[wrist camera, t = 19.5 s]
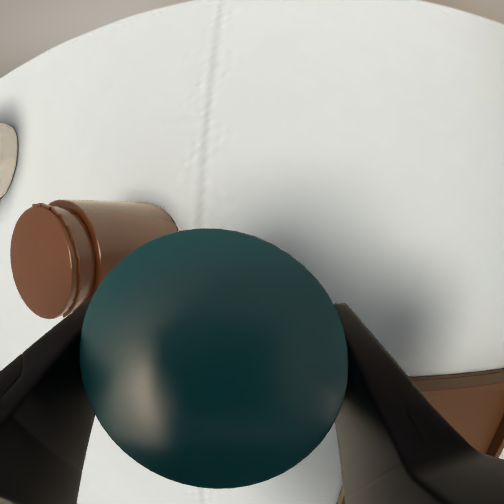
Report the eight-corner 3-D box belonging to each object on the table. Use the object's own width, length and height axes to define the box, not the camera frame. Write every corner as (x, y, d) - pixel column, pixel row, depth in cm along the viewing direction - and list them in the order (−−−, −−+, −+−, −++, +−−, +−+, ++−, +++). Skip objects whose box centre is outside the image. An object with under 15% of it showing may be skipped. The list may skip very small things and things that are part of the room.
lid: (341, 253, 9) (361, 241, 7) (317, 464, 8) (330, 493, 6) (120, 234, 9) (93, 219, 7) (107, 436, 8) (82, 457, 6)
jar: (181, 288, 21) (85, 336, 11) (114, 282, 22) (14, 315, 13) (179, 200, 20) (74, 193, 11) (111, 204, 21) (5, 204, 12)
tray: (462, 496, 17) (466, 509, 15) (334, 509, 20) (333, 524, 18) (522, 365, 15) (533, 376, 13) (366, 377, 18) (369, 393, 16)
